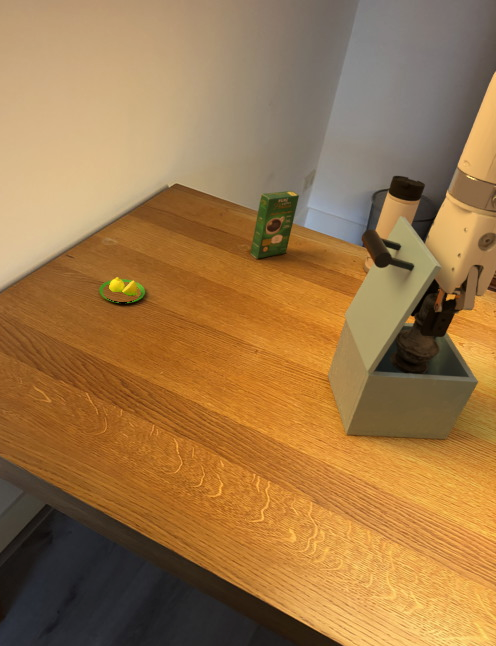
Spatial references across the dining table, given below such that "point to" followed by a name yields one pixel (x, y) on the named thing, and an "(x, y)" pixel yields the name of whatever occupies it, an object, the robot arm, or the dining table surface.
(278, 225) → the coffee box
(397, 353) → the chess piece figurine
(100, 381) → the dining table surface
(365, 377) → the grey hinged box
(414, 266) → the lid
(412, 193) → the travel mug
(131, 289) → the plate with lemons
